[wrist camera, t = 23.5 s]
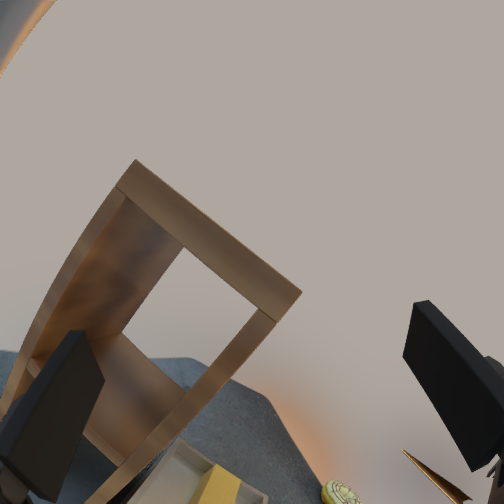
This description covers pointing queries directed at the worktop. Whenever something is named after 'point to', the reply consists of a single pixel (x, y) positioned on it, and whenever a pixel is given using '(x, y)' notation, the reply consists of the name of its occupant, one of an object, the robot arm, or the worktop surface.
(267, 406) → the worktop surface
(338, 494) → the decorated donut
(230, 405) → the worktop surface
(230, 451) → the worktop surface
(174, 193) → the shelf
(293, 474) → the worktop surface
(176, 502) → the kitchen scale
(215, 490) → the block
